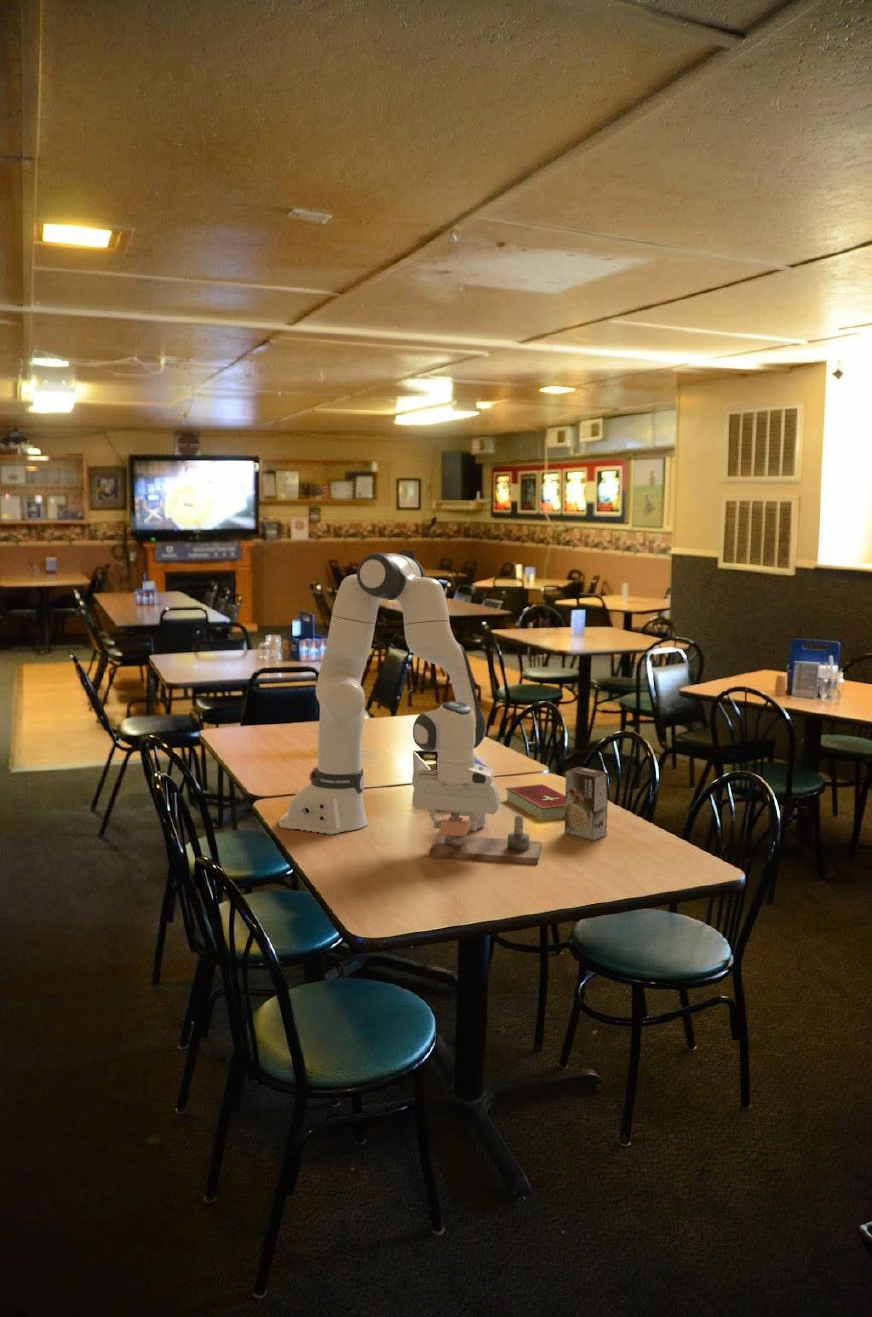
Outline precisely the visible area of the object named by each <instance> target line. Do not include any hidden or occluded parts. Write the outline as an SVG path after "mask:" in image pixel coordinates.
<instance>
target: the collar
mask: <svg viewBox="0 0 872 1317" xmlns="http://www.w3.org/2000/svg"><path fill="white" fill-rule="evenodd" d="M440 820H441V822H440V828H439V829H440V832H439V835H455V836H466V837H467V834H468V832H469V831H470V830H469V827H470V816H460V818H459V821H451V814H444V815H443V817H442V818H441V819H440Z"/></svg>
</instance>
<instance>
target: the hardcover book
mask: <svg viewBox="0 0 872 1317" xmlns="http://www.w3.org/2000/svg"><path fill="white" fill-rule="evenodd" d="M505 790H507V793H506V794H507V796H506V798H507V801H508V800H509V801H508V802H510V801H511V802H512V804H513V803H514V804H513V805H515V806H516V805H517V807H518V806H519V807H518V808H520V807H521V808H520V809H522V810H523V809H524V810H523V811H525V812H527V811H528V812H527V813H529V812H530V813H531V814H530V813H529V814H530V815H532V814H533V815H532V816H534V815H535V816H534V817H535V818H537V817H539V818H540V819H539V818H538V819H539V820H541V819H542V820H541V821H547V820H546V819H550V820H554V819H553V818H558V819H561V818H560V817H565V794H562V793H560V792H559V791H556V790H555V789H553V788H551V787H549V786H547V785H546V784H545V785H544V784H542V783H538V784H530V785H529V784H528V785H520V786H519V785H518V786H512V787H511V786H510V787H505ZM511 802H510V803H511Z"/></svg>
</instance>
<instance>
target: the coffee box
mask: <svg viewBox="0 0 872 1317" xmlns="http://www.w3.org/2000/svg"><path fill="white" fill-rule="evenodd" d="M564 795H565V818H564V833H565V834H567V835H572V834H573V836H575V835H576V836H577V837H580V838H583V839H587V840H591V841H595V840H598V839H600V838H601V839H602V838H603V837H605V836H607V835H608V832H607V831H608V828H607V827H608V804H609V803H608V801H609V800H608V799H609V798H608V797H609V772H607V771H601V770H596V769H592V768H589V767H588V768H587V767H583V766H577V767H573V768H571V769H570V768H569V770H566V771H565V794H564Z"/></svg>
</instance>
